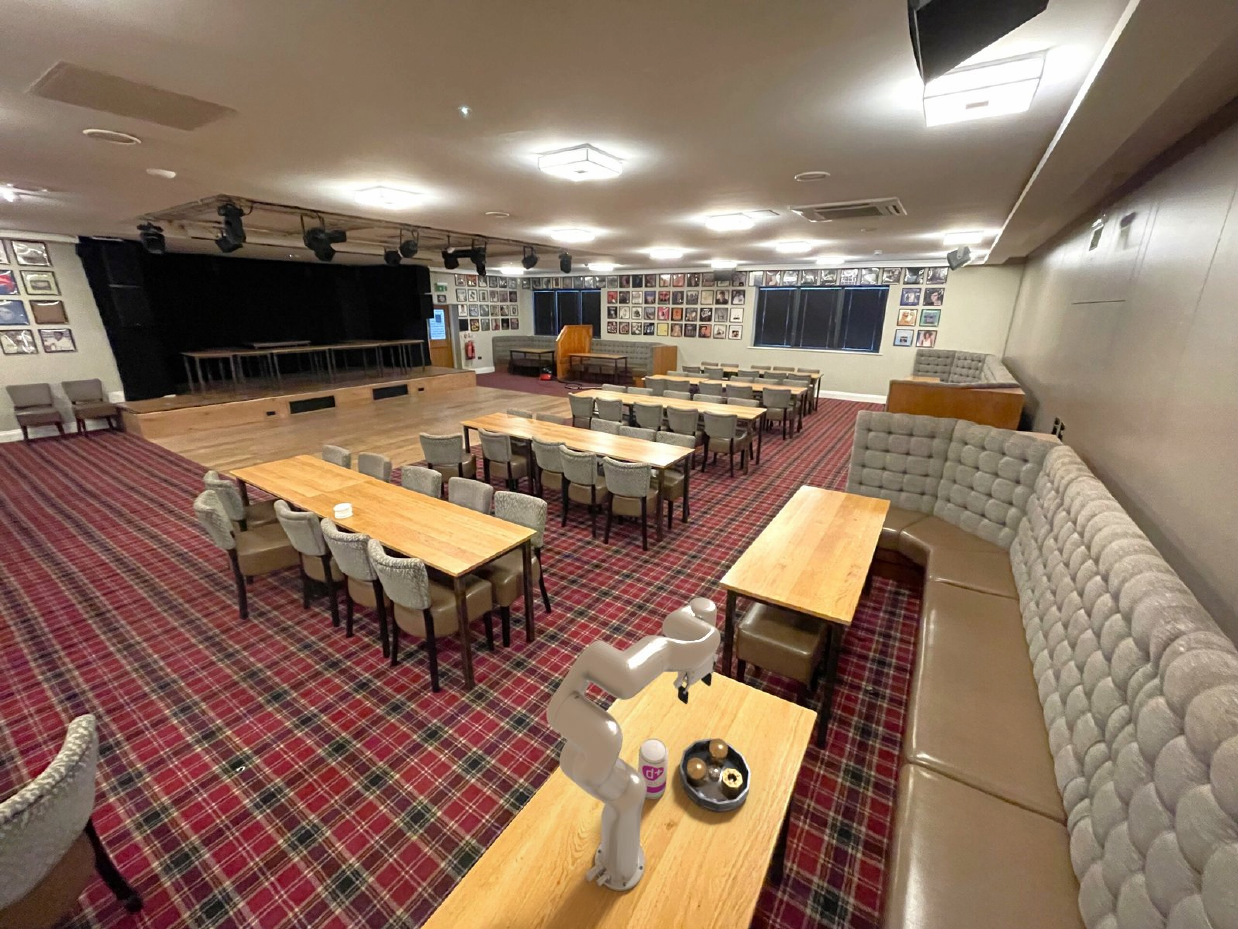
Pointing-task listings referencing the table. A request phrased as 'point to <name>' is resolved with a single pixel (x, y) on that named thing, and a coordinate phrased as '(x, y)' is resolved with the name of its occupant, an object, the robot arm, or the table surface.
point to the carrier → (712, 774)
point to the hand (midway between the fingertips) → (694, 691)
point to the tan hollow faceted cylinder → (731, 784)
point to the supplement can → (653, 766)
